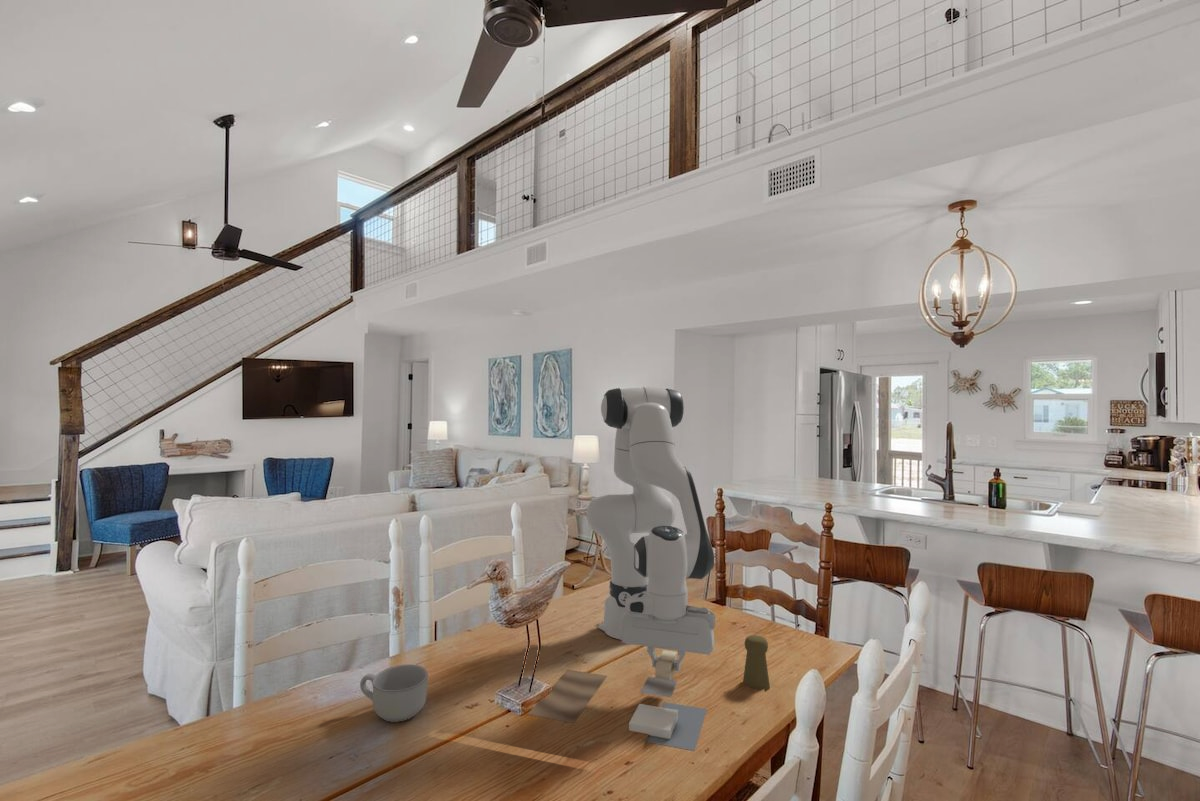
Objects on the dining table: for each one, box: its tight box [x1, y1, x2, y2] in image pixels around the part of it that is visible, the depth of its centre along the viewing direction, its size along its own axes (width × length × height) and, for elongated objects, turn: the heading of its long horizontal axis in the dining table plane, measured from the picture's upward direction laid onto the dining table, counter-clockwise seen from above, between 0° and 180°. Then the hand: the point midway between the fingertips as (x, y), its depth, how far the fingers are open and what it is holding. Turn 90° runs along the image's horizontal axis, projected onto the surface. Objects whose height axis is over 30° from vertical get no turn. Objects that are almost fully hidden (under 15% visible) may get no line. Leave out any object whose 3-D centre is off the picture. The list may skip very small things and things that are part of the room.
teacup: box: [359, 664, 429, 723], centre depth 120 cm, size 14×11×8 cm
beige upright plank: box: [641, 649, 678, 699], centre depth 123 cm, size 14×6×4 cm, turn 162°
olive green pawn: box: [742, 634, 771, 692], centre depth 134 cm, size 6×6×11 cm
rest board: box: [527, 669, 608, 724], centre depth 127 cm, size 22×10×1 cm, turn 162°
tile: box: [628, 703, 678, 739], centre depth 115 cm, size 2×8×8 cm
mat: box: [645, 701, 708, 752], centre depth 117 cm, size 16×18×1 cm
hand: (666, 668), depth 126 cm, fingers closed on beige upright plank, 3 cm apart
